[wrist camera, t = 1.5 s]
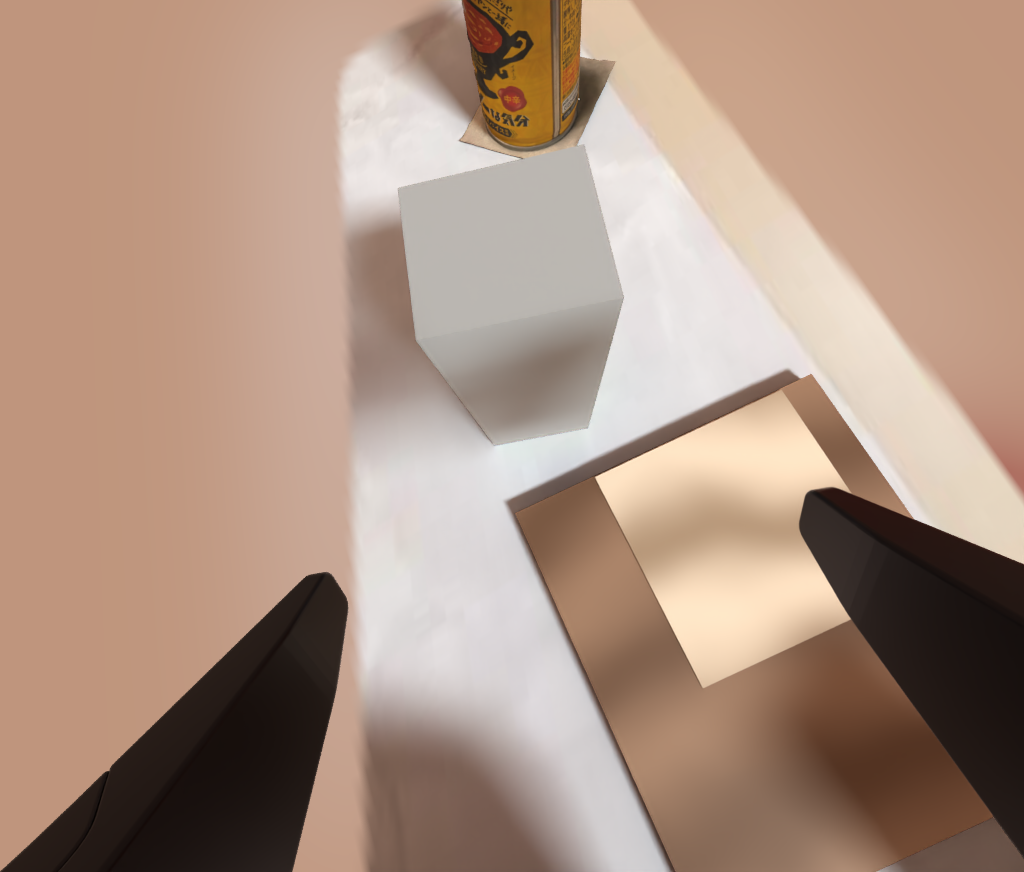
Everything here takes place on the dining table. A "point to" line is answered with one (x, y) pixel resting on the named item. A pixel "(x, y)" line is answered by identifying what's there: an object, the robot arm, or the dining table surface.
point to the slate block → (514, 290)
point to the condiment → (530, 75)
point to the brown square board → (745, 649)
